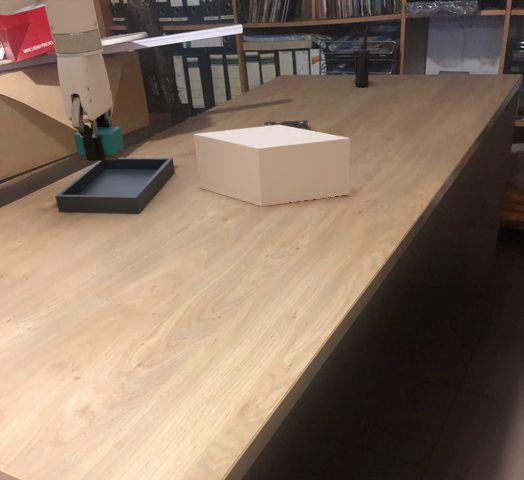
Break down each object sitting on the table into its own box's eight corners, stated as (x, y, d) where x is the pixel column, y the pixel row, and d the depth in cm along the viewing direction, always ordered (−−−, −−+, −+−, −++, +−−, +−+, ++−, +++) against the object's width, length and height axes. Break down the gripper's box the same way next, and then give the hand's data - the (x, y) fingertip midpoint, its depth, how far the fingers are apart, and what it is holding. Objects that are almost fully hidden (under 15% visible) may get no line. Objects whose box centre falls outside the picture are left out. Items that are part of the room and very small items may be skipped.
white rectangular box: (342, 210, 103) (343, 151, 97) (186, 202, 110) (178, 146, 104) (354, 181, 114) (356, 126, 108) (212, 175, 121) (206, 123, 115)
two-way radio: (369, 87, 176) (372, 30, 167) (354, 88, 176) (356, 31, 167) (364, 83, 181) (366, 27, 172) (350, 84, 180) (351, 29, 172)
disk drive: (264, 134, 143) (262, 152, 131) (263, 121, 142) (261, 139, 130) (307, 132, 143) (309, 150, 131) (307, 119, 141) (309, 137, 129)
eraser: (79, 160, 107) (73, 134, 104) (89, 152, 110) (84, 127, 108) (116, 160, 105) (110, 134, 103) (125, 152, 109) (120, 126, 106)
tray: (139, 213, 107) (136, 197, 105) (59, 211, 110) (54, 196, 108) (174, 172, 124) (172, 157, 122) (104, 171, 127) (101, 157, 125)
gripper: (78, 36, 104) (101, 141, 115) (31, 54, 91) (62, 171, 102) (118, 34, 103) (138, 141, 114) (76, 52, 90) (103, 171, 100)
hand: (101, 154), depth 108 cm, fingers closed on eraser, 4 cm apart
